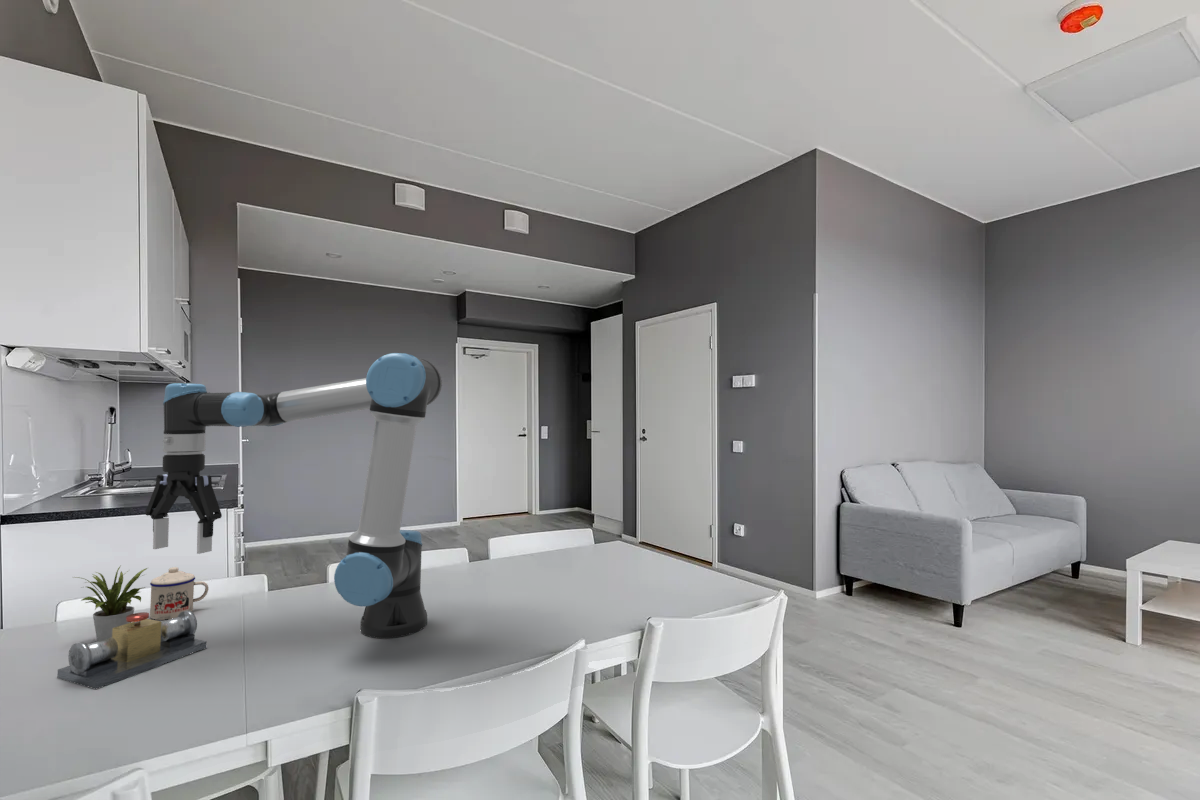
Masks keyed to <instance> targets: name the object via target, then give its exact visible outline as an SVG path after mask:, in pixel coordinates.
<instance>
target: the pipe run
mask: <svg viewBox="0 0 1200 800" xmlns="http://www.w3.org/2000/svg"><path fill="white" fill-rule="evenodd" d="M197 628H198V620H197V617H196V615H195V614H194V612H193V611H192V612H191V611H189V610H187V611H183V612H181V613H180V614H179V615H178V617H176V618H173V619H168V620H162V621H161V643H160V651H159V652H156V653H153V654H150V655H147V656H145V657H142V658H139V659H136V660H133V661H130V662H123V661H119V660H115V659H112V658H115V657H116V655H117V653H118V645H117V642H116V640H115V639H114V638H112V637H110V638H107V639H104V640H101V641H97V640H96V641H94V642H92V643H88V644H87V643H86V642H84V641H79V642H75V643H73V644H72V645H71V646H70V649H69V651H68V664H69V665H67V666H65V667H61V668H58V669H57V679H60V680H64V679H65V681H67V680H68V681H67V682H70V681H71V683H74V682H75V683H74V684H77V683H78V685H80V684H82V685H81V686H83V685H85V687H87V686H89V687H88V688H90V687H92V688H91V689H93V688H95V689H94V690H97V689H96V688H98V689H100V688H103V687H105V686H104V685H106V686H109V685H111V684H113V682H114V683H116V681H117V682H119V681H121V680H125V679H127V678H130V677H132V676H136V675H138V674H141V673H144V672H147V671H149V670H151V669H155V668H157V667H160V666H162V664H163V665H165V664H168V663H171V662H173V661H172V660H174V661H176V660H179V659H181V658H180V657H182V656H184V657H186V656H185V655H187V654H190V653H192V652H195V651H198V650H201V651H203V650H205V649H204V648H206V649H207V640H202V639H197V638H195V634H196V632H197V630H198V629H197ZM202 649H203V650H202ZM198 652H199V651H198ZM195 653H196V652H195ZM190 655H191V654H190ZM187 656H188V655H187ZM178 658H179V659H178ZM182 658H183V657H182ZM175 659H176V660H175ZM170 661H171V662H170ZM167 662H168V663H167ZM164 663H165V664H164ZM108 684H109V685H108ZM102 686H103V687H102ZM99 687H100V688H99Z"/></svg>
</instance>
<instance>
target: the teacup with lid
mask: <svg viewBox="0 0 1200 800" xmlns="http://www.w3.org/2000/svg"><path fill="white" fill-rule="evenodd" d="M195 580H196V577H195V574H193V573H190V572H189V573H188V572H184V571H183V570H179V567H177V566H174V567H173V566H172V567H170V568H169V569H168V571H167V572H164V573H163V574H161V575H159V576H157V577H154V578H153V579H152V580H151V581H150V583H149V585H150V586H151V587H150V607H149V608H150V609H149V619H151V620H154V619H155V620H156V621H166V620H165V619H168V620H170V619H172V618H176V617H178V615H179V614H180V613H181V612H183V611H187V610H189V611H191V612H193V611H194V603H196V602H200V601H202V600H203V599H204V598H205V597H206V596H207V595H208V592H209V584H208V583H206V582H205V581H201V580H200V581H195ZM198 585H199V586H200V585H201V586H203V587H204V592H203V594H202V595H200V596H199V597H197V598H194V595H195V594H194V592H195V591H194V589H195V588H194V586H198Z"/></svg>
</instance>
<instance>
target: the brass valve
mask: <svg viewBox="0 0 1200 800" xmlns="http://www.w3.org/2000/svg"><path fill="white" fill-rule="evenodd" d="M126 621H127V622H131V623H128V624H125V625H121V626H118V627H114V628H113V629H112V638H114V639H115V640H116V642H117V645H118V653H117V655H116V657H115V658H112V659H115V660H119V661H123V662H130V661H133V660H136V659H139V658H142V657H145V656H147V655H150V654H153V653H156V652H159V651H160V643H161V622H162V620H154V619H151V618H150V612H147V611H146V612H145V611H143V612H134V613H133V614H131V615H128V616H127V617H126Z"/></svg>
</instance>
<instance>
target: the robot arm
mask: <svg viewBox="0 0 1200 800" xmlns="http://www.w3.org/2000/svg"><path fill="white" fill-rule="evenodd" d="M442 381H443V380H442V376H441V373H440V372H439V369H438V368H437V367H436V366H435V365H434V364H433V363H431V362H430V361H429V360H425V359H422V358H420V357H417V356H414V355H412V354H408V353H403V352H402V353H401V352H399V353H398V352H392V353H387V354H385V355H382V356H380V357H378V359H376V360H375V361H374V362H372V364H371V366H370V367H369V368H368V371H367V374H366V377H364V378H359V379H353V380H352V379H351V380H346V381H340V382H334V383H329V384H328V383H327V384H321V385H316V386H310V387H309V386H308V387H304V388H298V389H291V390H286V391H285V390H284V391H280V392H273V393H267V394H256V393H254V392H245V391H235V392H234V391H233V392H208V391H207V386H206V385H204V384H202V383H178V382H177V383H169V384H167V385H166V386H165V389H164V397H163V398H164V399H163V401H162V403H163V404H162V405H163V427H164V428H163V429H164V430H163V441H162V442H163V443H162V444H163V445H162V446H163V449H162V451H163V453H166V454H164V455H163V456H162V471H163V472H164V473H166V474H157V475H156V479H155V486H154V489H153V490H152V494H151V496H150V499H149V502H148V504H147V507H146V509H145V513H144V514H145V516H147V517H148V516H149V517H150V518H151V519H152V532H153V533H152V535H153V539H152V541H153V542H152V549H153V550H158V549H163V548H168V547H169V531H170V530H169V527H170V526H169V525H170V517H169V512H170V510H171V508H172V507H173V506H174V504H175V502H176V501H177V499H178V498H179V497H184V498H185V499H187V500H188V501H189V502H190V505H191V506H192V508H193V509H194V512H195V513H196V515H197V517H198V519H199V520H198V521H197V527H196V528H197V529H196V530H197V531H196V532H197V533H196V535H197V536H196V554H197V555H198V554H199V555H200V554H204V553H209V552H213V551H212V550H213V549H212V548H213V547H212V545H213V536H214V522H215V521H216V520H219V519H222V512H221V508H220V506H219V504H218V499H217V496H216V494H215V491H214V487H213V484H212V483H213V481H212V479H213V478H212V476H211V475H210V474H209V475H202V476H201V474H200V472H201V471H203V470H205V467H206V466H205V465H206V464H205V463H206V455H205V454H204V453H202V452H205V451H206V427H237V428H240V427H241V428H242V427H243V428H244V427H255V426H257V427H258V426H260V427H261V426H262V427H274V426H279V425H282V424H285V423H289V422H296V421H302V420H308V419H316V418H321V417H326V416H331V415H332V416H333V415H338V414H339V415H340V414H343V413H344V414H345V413H352V412H357V411H358V412H359V411H365V410H369V413H370V414H371V416H372V417H373V418H374V422H375V423H374V429H373V435H372V441H371V447H370V453H369V458H368V459H369V460H368V466H367V472H366V478H365V485H364V489H363V490H364V491H363V497H362V504H361V509H360V514H359V516H360V517H359V522H358V528H357V530H356V531H354V532H352V534H349V538H348V544H347V548H346V555H345V556H344V557H343V558H342V559H341V560H340V561H339V563H338V565H337V566H336V568H335V571H334V575H333V581H334V586H335V589H336V591H337V593H338V594H339V595H340V596H341V598H342V599H343V600H344V601H345V602H347V603H349V604H351V605H353V606H355V607H364V610H363V613H362V617H361V619H360V628H359V629H360V630H361V631H360V633H361V632H362V633H363V634H362V633H361V634H362V635H364V634H365V635H364V636H366V635H367V637H370V636H371V638H376V637H377V639H378V638H379V639H390V638H399V637H403V636H409V635H412V634H414V633H417V632H419V631H422V630H423V629H424V628H425V627H426V626H427V624H428V612H427V610H426V609H425V604H424V599H423V596H422V593H421V584H422V583H421V581H422V580H421V579H422V578H421V577H422V547H423V542H422V534H421V532H420V531H418V530H414V529H413V530H411V529H401V527H402V519H403V514H404V507H405V500H406V494H407V489H408V488H407V487H408V482H409V475H410V469H411V464H412V463H411V462H412V456H413V450H414V444H415V438H416V437H415V436H416V430H417V426H418V425H419V424H420V423H421V422H423V421H424V420H425V419H426V413H427V406H428V405H430V404H432V403H433V402H435V401H436V400H437V398H438V397H439V396H440V394H441V391H442V386H443V384H442V383H443V382H442Z"/></svg>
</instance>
